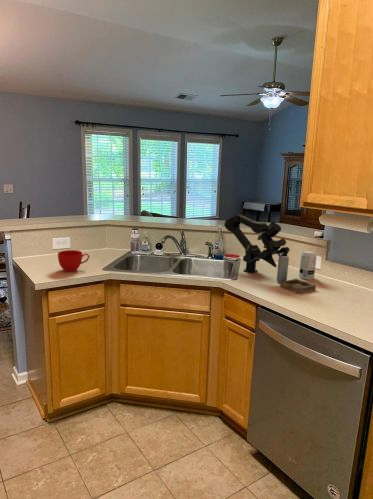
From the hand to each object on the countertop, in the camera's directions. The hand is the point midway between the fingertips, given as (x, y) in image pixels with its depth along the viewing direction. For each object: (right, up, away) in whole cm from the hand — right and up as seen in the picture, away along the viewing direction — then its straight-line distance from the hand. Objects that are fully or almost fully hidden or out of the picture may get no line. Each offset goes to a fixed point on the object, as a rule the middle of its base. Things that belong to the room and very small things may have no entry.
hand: (281, 266), depth 196 cm
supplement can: (+17, -7, +12) cm, 22 cm away
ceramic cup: (-115, -3, +11) cm, 115 cm away
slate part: (0, -9, +1) cm, 9 cm away
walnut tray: (+6, -11, -8) cm, 15 cm away
